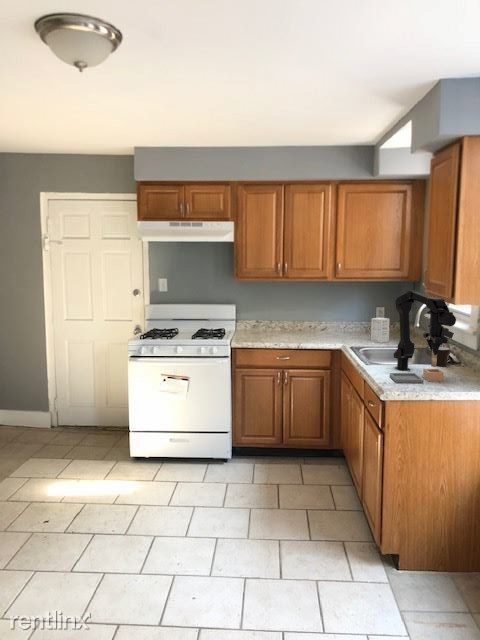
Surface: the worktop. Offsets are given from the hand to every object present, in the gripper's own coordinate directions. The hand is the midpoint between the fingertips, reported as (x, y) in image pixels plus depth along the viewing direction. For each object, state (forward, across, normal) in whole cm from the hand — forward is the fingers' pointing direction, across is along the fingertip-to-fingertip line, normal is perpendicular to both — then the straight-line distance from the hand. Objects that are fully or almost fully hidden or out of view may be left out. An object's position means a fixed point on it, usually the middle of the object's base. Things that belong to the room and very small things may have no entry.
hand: (434, 354), depth 246 cm
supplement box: (+13, +108, +1) cm, 109 cm away
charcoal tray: (+13, -2, +14) cm, 19 cm away
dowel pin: (+6, 0, 0) cm, 6 cm away
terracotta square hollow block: (+13, 0, 0) cm, 13 cm away
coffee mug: (+13, +32, -16) cm, 38 cm away
